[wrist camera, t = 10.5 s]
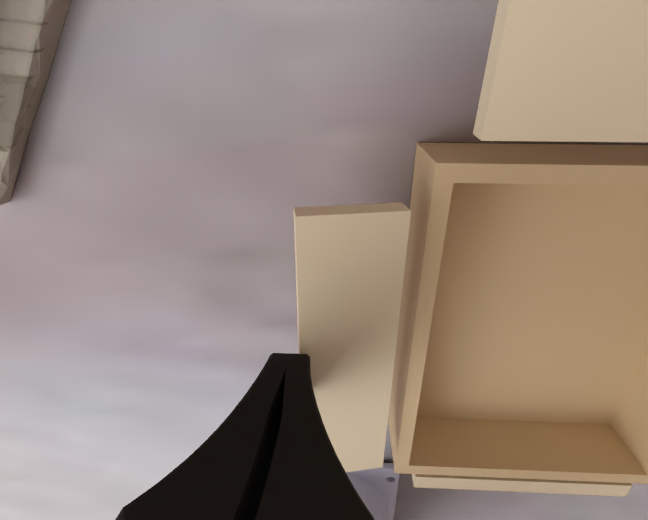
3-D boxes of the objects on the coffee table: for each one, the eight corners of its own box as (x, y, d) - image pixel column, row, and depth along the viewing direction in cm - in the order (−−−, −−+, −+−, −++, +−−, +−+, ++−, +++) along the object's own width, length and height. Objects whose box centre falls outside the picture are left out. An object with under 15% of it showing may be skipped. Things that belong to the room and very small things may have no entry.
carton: (623, 436, 21) (669, 498, 18) (386, 427, 22) (393, 486, 19) (773, 146, 14) (890, 168, 11) (416, 142, 15) (436, 162, 12)
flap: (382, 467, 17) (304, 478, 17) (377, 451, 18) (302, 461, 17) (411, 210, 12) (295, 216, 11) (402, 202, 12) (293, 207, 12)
